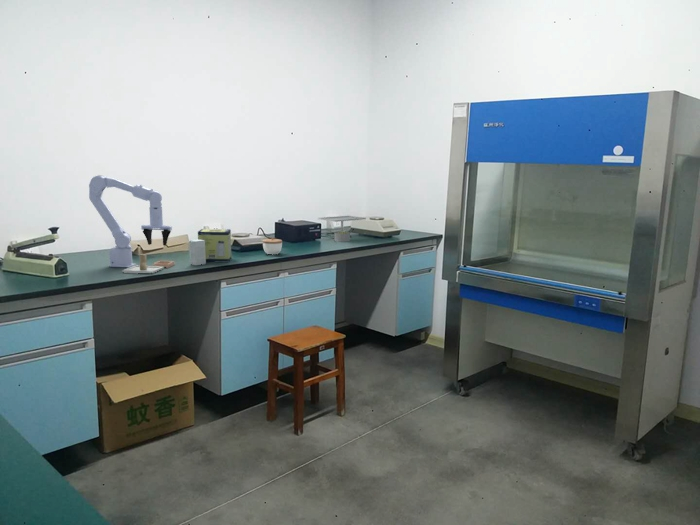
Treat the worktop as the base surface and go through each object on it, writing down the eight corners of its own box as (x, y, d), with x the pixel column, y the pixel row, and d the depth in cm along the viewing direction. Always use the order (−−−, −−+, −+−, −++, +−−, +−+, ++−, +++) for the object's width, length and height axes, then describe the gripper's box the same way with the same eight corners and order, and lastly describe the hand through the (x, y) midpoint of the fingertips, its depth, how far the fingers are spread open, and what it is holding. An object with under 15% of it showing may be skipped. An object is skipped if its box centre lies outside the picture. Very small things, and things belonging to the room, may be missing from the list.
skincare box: (200, 262, 280) (200, 239, 278) (206, 264, 278) (205, 240, 276) (190, 264, 276) (189, 240, 274) (195, 265, 273) (195, 241, 271)
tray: (122, 272, 253) (122, 270, 253) (135, 267, 265) (135, 265, 264) (152, 274, 251) (152, 271, 251) (163, 269, 263) (163, 266, 263)
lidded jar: (259, 253, 312) (258, 236, 310) (275, 251, 318) (275, 235, 317) (269, 256, 304) (269, 239, 302) (285, 254, 311) (286, 237, 309)
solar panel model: (348, 237, 384) (348, 215, 381) (365, 240, 372) (366, 217, 369) (317, 240, 365) (317, 217, 362) (334, 243, 353) (335, 220, 350)
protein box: (201, 258, 293) (200, 228, 291) (231, 258, 295) (231, 229, 292) (198, 261, 283) (197, 231, 280) (229, 262, 285) (228, 231, 282)
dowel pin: (138, 269, 257) (138, 254, 256) (142, 268, 260) (141, 253, 258) (144, 270, 256) (144, 255, 255) (148, 269, 259) (147, 254, 258)
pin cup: (153, 267, 267) (153, 263, 267) (160, 264, 274) (159, 260, 274) (168, 267, 266) (168, 264, 266) (174, 264, 274) (174, 261, 273)
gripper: (137, 217, 265) (139, 245, 268) (166, 218, 264) (167, 246, 266) (144, 215, 272) (146, 243, 275) (173, 216, 271) (174, 244, 273)
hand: (157, 244), depth 271 cm, fingers open, 7 cm apart
